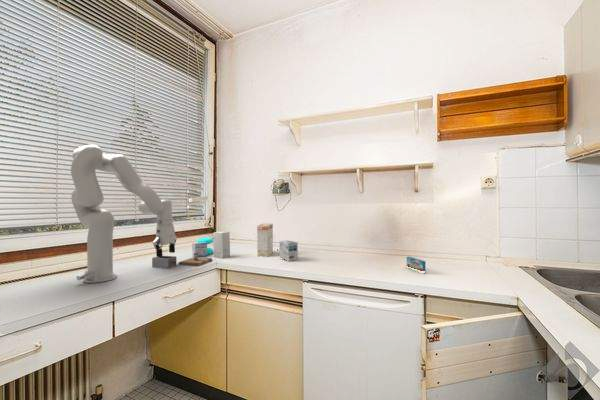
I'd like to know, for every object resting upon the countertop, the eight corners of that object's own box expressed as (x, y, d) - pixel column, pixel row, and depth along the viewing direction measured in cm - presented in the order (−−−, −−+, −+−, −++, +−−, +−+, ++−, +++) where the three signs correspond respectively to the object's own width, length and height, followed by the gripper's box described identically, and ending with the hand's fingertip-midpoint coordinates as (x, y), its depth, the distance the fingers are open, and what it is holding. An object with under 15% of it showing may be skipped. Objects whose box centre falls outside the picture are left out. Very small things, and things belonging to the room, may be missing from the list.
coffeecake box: (263, 252, 198) (263, 223, 198) (273, 252, 197) (273, 223, 197) (256, 256, 183) (256, 225, 183) (267, 256, 182) (267, 225, 182)
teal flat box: (425, 273, 142) (425, 261, 142) (422, 274, 142) (422, 261, 142) (409, 268, 154) (409, 256, 154) (406, 268, 153) (406, 256, 153)
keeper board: (197, 266, 157) (197, 256, 157) (178, 264, 160) (178, 254, 160) (212, 260, 171) (212, 251, 171) (194, 259, 174) (193, 250, 174)
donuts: (213, 239, 189) (196, 239, 186) (213, 254, 189) (196, 255, 186) (212, 237, 198) (197, 237, 195) (212, 251, 198) (197, 252, 196)
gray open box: (168, 268, 152) (168, 258, 152) (152, 267, 155) (152, 257, 155) (176, 265, 159) (176, 256, 158) (160, 264, 161) (160, 255, 161)
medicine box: (195, 258, 179) (194, 243, 179) (192, 256, 182) (192, 243, 182) (207, 256, 184) (207, 242, 184) (204, 255, 187) (204, 241, 187)
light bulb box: (298, 260, 172) (298, 242, 172) (288, 261, 168) (288, 243, 168) (288, 257, 181) (288, 239, 181) (279, 258, 177) (279, 240, 177)
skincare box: (230, 256, 182) (230, 231, 182) (222, 258, 176) (222, 232, 176) (221, 255, 186) (220, 231, 186) (212, 257, 181) (212, 232, 181)
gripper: (159, 224, 147) (160, 258, 148) (181, 220, 164) (182, 251, 165) (146, 224, 149) (148, 257, 150) (169, 220, 166) (170, 250, 167)
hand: (165, 254), depth 157 cm, fingers open, 9 cm apart
